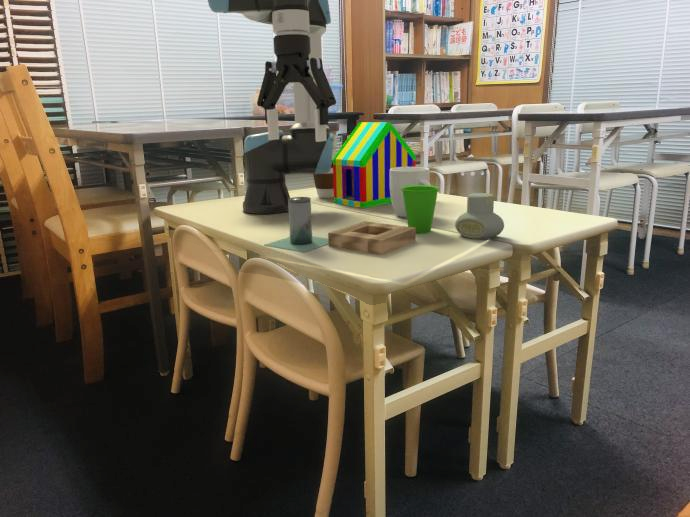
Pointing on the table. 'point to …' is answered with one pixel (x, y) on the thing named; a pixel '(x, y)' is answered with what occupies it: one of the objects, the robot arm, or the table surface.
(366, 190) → the toy house
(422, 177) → the mug
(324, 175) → the coffee cup
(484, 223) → the air freshener
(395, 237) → the socket block
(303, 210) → the gray metal can
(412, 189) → the cup
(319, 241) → the mat
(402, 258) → the table surface
